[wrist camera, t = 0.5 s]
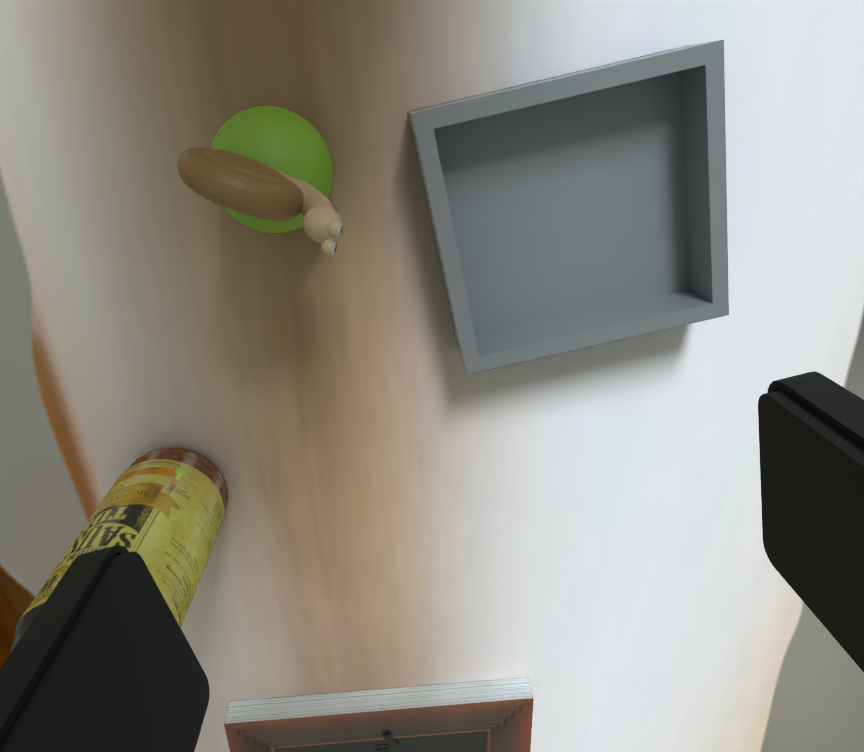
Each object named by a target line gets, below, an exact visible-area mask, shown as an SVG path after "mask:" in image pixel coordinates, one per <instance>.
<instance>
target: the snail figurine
mask: <svg viewBox="0 0 864 752" xmlns="http://www.w3.org/2000/svg"><path fill="white" fill-rule="evenodd" d="M178 172H179V175H180V177H181V178H182V180H183V181H184V183H185V184H186V185H187V186H188V187H189V188H191V189H192V190H193V191H195V192H196V193H198V194H199V195H201V196H203V197H204V198H206V199H208V200H210V201H212V202H214V203H216V204H219V205H221V206H223V208H224V209H225V210H226V211H227V212H228V213H229V214H230V215H231V216H232V217H233V218H234V219H236V220H237V221H238V222H240V223H241V224H243V225H245V226H247V227H249V228H251V229H254V230H257V231H261V232H266V233H285V232H290V231H294V230H296V229H299V228H301V227H304V230H305V232H306V234H307V235H308V236H309V237H310V238H311V239H312V240H314V241H315V242H318V243H321V244H322V245H321V250H322V252H323V254H325V255H326V256H332V255H333V254H334V253H335V251H336V248H337V245H336V243H335V241H337V240H338V239H339V238H340V237H341V235H342V233H343V223H342V219H341V217H340V215H339V214H338V213H337V212H336V211H335V209H334V207H333V205H332V204H331V202H330V201H329V199H328V198H329V196H330V193H331V189H332V185H333V164H332V159H331V155H330V152H329V149H328V147H327V145H326V143H325V141H324V139H323V138H322V136H321V135H320V133H319V132H318V131H317V130H316V128H315V127H314V126H313V125H312V124H311V123H310V122H308V121H307V120H306V119H305V118H303V117H302V116H300V115H298V114H297V113H295V112H293V111H290V110H288V109H285V108H281V107H276V106H256V107H251V108H248V109H245V110H242V111H240V112H238V113H236V114H235V115H233V116H232V117H230V118H229V119H228V120H227V121H226V122H225V123H224V124H223V125H222V126H221V127H220V129H219V130H218V132H217V133H216V135H215V137H214V139H213V141H212V144H211V147H210V149H209V148H192V149H189V150H187V151H185V152H184V153H183V154H182V155H181V156H180V158H179V161H178Z"/></svg>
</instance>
